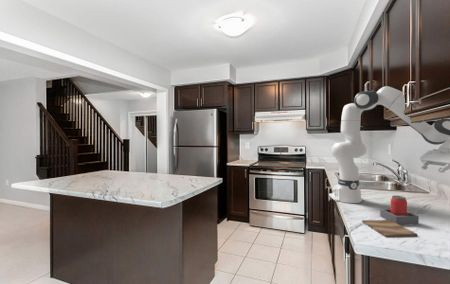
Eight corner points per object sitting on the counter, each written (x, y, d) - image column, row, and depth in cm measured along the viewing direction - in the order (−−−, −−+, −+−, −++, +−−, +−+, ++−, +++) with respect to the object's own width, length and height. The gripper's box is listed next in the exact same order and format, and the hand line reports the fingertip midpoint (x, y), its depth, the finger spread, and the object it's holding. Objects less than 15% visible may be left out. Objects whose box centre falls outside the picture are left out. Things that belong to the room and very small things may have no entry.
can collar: (380, 216, 121) (380, 209, 121) (400, 216, 121) (400, 208, 121) (396, 224, 110) (396, 216, 110) (418, 224, 110) (418, 216, 110)
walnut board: (362, 222, 113) (362, 220, 113) (389, 221, 113) (389, 220, 113) (385, 236, 97) (385, 234, 97) (417, 236, 97) (417, 234, 97)
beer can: (400, 223, 111) (400, 199, 111) (387, 218, 118) (387, 195, 117) (410, 221, 113) (410, 198, 113) (396, 217, 120) (397, 194, 119)
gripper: (427, 145, 124) (410, 163, 124) (468, 147, 104) (447, 168, 104) (435, 153, 124) (417, 171, 125) (477, 156, 104) (456, 178, 104)
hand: (431, 170), depth 114 cm, fingers open, 8 cm apart
